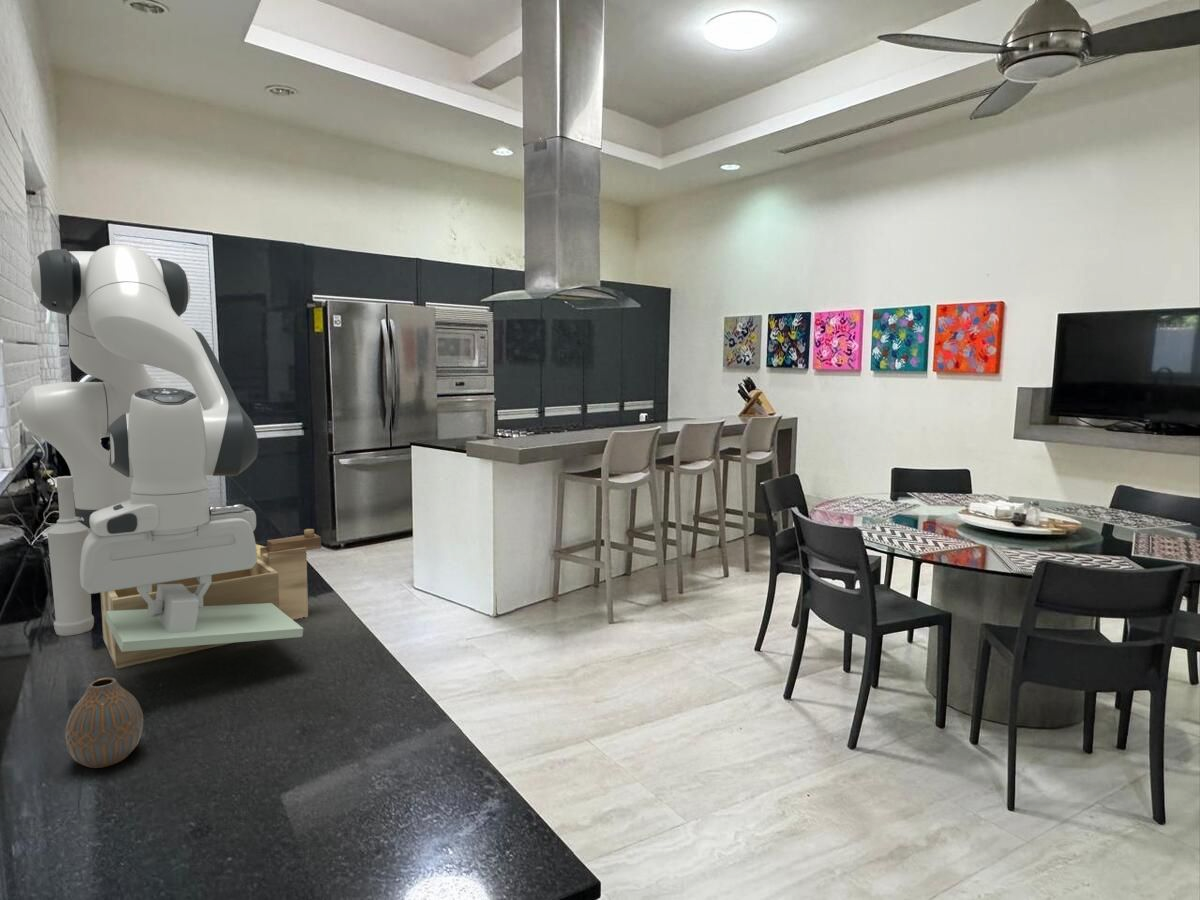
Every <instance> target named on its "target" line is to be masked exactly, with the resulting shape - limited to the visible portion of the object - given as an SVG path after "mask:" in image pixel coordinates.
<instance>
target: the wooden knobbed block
mask: <svg viewBox="0 0 1200 900" xmlns="http://www.w3.org/2000/svg"><path fill="white" fill-rule="evenodd" d="M303 533H304V534H303V535H296V536H290V537H282V538H275V539H268V540H266V547H267V552H268V553H269V552H276V551H282V550H289V549H296V548H303V547H305V548H306V551H313V550H320V549H322V536H320V535H318V534H316V533H315V529H314V528H306V529H304V530H303Z"/></svg>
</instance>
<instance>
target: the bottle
mask: <svg viewBox="0 0 1200 900" xmlns="http://www.w3.org/2000/svg"><path fill="white" fill-rule="evenodd" d="M56 488H57V489H56V490H57V498H58V500H57V501H58V513H59V515H58V519H57V520H56V524H54V526H53V527H51V528H50V529H49V530H48V531H47V532H46V533H47V540H48V541H47V542H48V552H49V554H48V555H49V563H50V573H51V584H52V585H51V586H52V593H53V594H52V595H53V607H54V616H55V621H53V628H54V632H55V634H56V635H57V636H61V637H68V636H75V635H80V634H84V633H88V632H89V631H91V630H92V629H93V628H94V623H95V616H94V615H93V614H92V594H91V593H89V592H87V591H86V590H84V589H83V588H82V586H81V582H80V562H81V553H82V547H83V543H84V541H85V539H86V537H87V536H88V535H89V529H88V527H86V526H85V525H83V524H81V523H80V522H78V518H76V517H75V499H74V489H73V488H74V486H73V476H71V475H63V476H57V477H56Z"/></svg>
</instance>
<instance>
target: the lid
mask: <svg viewBox="0 0 1200 900" xmlns="http://www.w3.org/2000/svg"><path fill="white" fill-rule="evenodd" d="M159 599H160V600H161V601H162V602H163V608H162V610H163V615H159V616H154V617H150V616H149V613H148V609H138V610H118V611H106V617H105V620H106V622H107V624H108V626H109V628H110V630H111V632H112V634H113V636H114V638H115V640H116V642H117V644H118V646H119V648H120V650H121V652H125V651H137V650H149V649H161V648H173V647H185V646H197V645H209V644H221V643H231V644H234V643H233V642H235V643H243V642H255V641H256V642H257V641H268V640H277V639H278V640H279V639H280V640H281V639H282V640H283V639H290V638H293V639H294V638H302V637H303V633H304V628H303V627H302V626H301V625H300V624H299V623H297V622H296V621H295V620H292V619H291V618H290V617H288V616H287V615H286V614H285V613H283V612H282V611H281V610H280V609H278V608H277V607H276V606H275V605H273V604H272V603H261V604H240V605H220V606H203V607H202V608H198V605H199V601H198V600H197V599H196V598H195V597H194V596H193V594H192V593H191V592H190V591H189V590H188V589H187V588H186V587H185V586H184V585H183V584H158V586H157V593H156V600H159Z"/></svg>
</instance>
